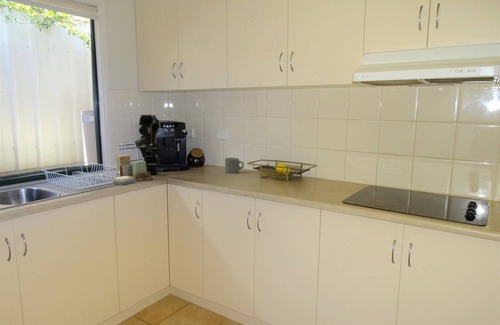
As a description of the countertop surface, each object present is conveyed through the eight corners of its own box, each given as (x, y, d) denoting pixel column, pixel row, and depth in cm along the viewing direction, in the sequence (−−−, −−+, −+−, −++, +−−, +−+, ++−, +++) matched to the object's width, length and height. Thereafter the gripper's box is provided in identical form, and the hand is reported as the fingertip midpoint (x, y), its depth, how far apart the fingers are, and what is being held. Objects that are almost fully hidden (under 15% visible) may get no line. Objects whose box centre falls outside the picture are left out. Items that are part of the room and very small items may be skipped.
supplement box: (120, 175, 234) (119, 156, 232) (116, 174, 237) (115, 155, 235) (131, 173, 240) (130, 155, 238) (127, 172, 243) (126, 154, 241)
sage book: (142, 175, 224) (141, 160, 222) (146, 176, 221) (145, 161, 220) (133, 177, 218) (132, 161, 217) (136, 178, 216) (135, 162, 215)
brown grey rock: (134, 175, 233) (134, 163, 232) (152, 179, 220) (152, 166, 219) (120, 177, 224) (119, 165, 223) (138, 181, 212) (137, 168, 211)
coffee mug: (223, 173, 243) (223, 159, 241) (227, 170, 253) (226, 157, 251) (242, 173, 241) (242, 159, 239) (244, 171, 250) (244, 158, 249)
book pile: (127, 180, 215) (127, 175, 214) (135, 182, 209) (135, 177, 209) (111, 183, 206) (111, 178, 206) (119, 185, 201) (119, 179, 200)
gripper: (127, 134, 221) (129, 158, 223) (145, 135, 209) (146, 160, 212) (142, 133, 230) (143, 156, 232) (160, 134, 218) (160, 158, 220)
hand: (148, 158), depth 224 cm, fingers open, 9 cm apart
